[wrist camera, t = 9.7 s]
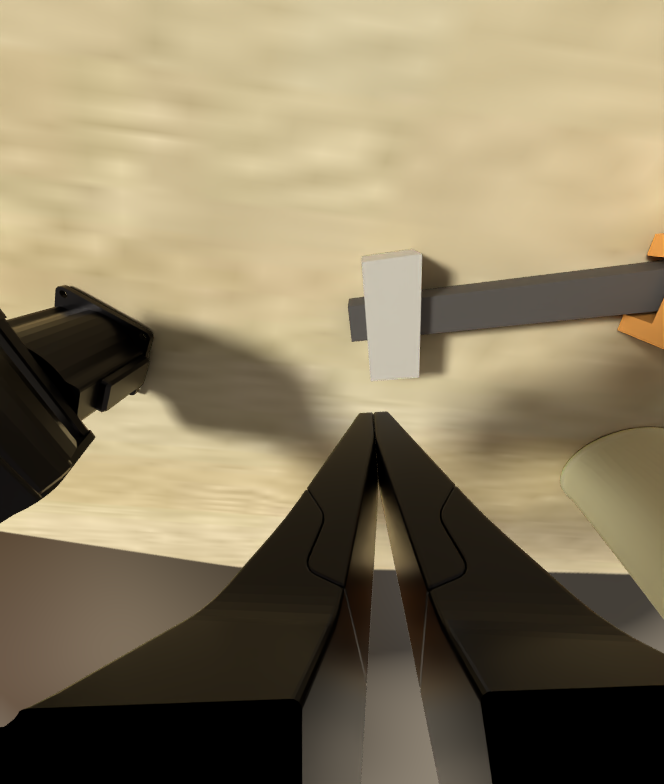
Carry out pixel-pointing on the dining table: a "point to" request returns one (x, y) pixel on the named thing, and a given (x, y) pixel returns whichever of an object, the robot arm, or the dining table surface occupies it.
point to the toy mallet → (482, 304)
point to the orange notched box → (647, 326)
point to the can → (625, 501)
